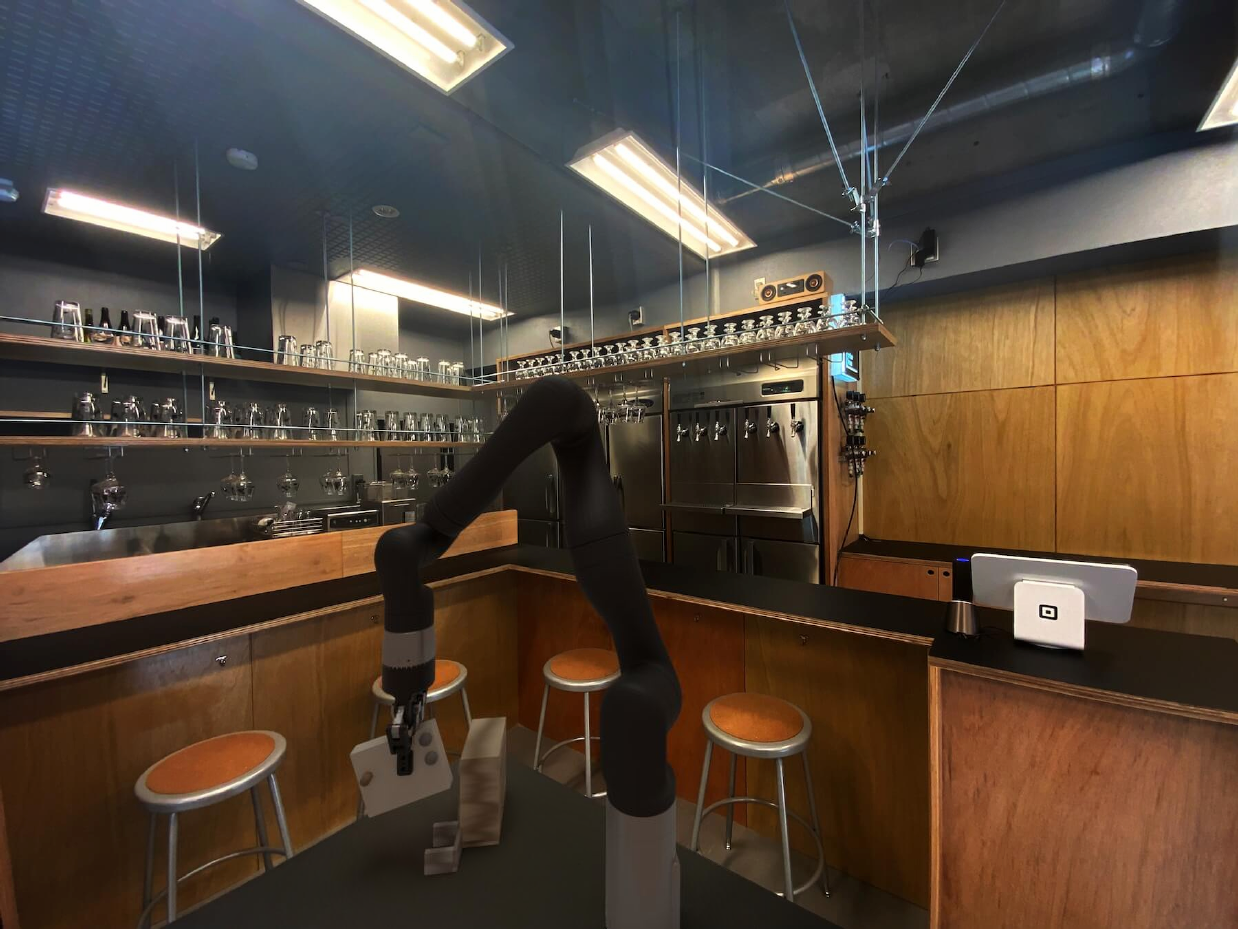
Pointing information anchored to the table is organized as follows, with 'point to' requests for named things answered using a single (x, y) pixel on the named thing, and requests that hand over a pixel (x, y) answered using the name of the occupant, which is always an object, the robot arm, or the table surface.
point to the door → (381, 771)
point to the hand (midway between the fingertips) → (408, 767)
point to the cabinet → (474, 797)
